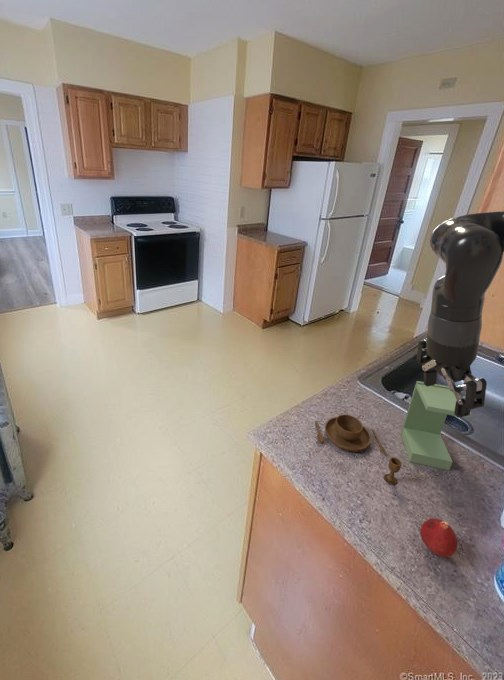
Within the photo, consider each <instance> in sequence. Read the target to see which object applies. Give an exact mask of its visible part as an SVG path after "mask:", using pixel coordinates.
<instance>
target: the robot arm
mask: <svg viewBox="0 0 504 680" xmlns="http://www.w3.org/2000/svg"><path fill="white" fill-rule="evenodd" d="M429 245H430V248H431V251H432V252H433V253H434V255H436V256H437V257H438V259H440V260H441V261H442V262H443V263H444V264H445V273H444V275H443V276H441V277H439V278H438V279H437V280H436V281H435V282H434V285H433V288H432V295H431V297H432V298H431V308H430V312H429V316H428V320H427V331H426V332H427V333H426V338H424V339H421V340H419V341H418V343H417V344H418V345H417V350H416V351H417V353H416V362H417V364H421V365H422V366H421V369H422V371H423V382H424V384H425V385H426V386H432V385H435V384H437V378H438V375H440V376H441V377H442V378H443V379H444V380H445V381H446V383H447V386H449V389H450V391H452V392H454V394H455V397H456V400H457V401H456V405H455V411H454V414H455V415H456V416H455V415H454V416H455V417H457V418H465V417H464V416H468V415H470V412H471V411H472V410H473V409H478V408H482V407H484V406H485V402H486V401H485V399H486V392H487V384H488V381H487V380H486V379H485V378H484V377H480V378H477V377H475V376H474V374H472V369H471V366H472V364H473V363H474V361H475V360H476V359H477V355H478V351H479V345H480V339H481V334H482V326H483V311H484V305H485V299H486V292H487V291H488V289H489V288H490V286H491V284H492V283H493V281H494V279H495V277H496V275H497V273H498V271H499V269H500V267H501V265H502V262H503V259H504V210H499V211H489V212H478V213H477V212H476V213H470V214H469V213H468V214H464V215H458V216H455V217H451V218H449V219H448V220H445V221H443V222H442V223H441V224H439V225H438V226H437V227H435V229H434V230H433V231H432V233H431V235H430V239H429ZM462 381H463V383H462V384H459V385H456V383H459V382H462ZM463 391H464V394H465V396H463V394H462V392H463Z"/></svg>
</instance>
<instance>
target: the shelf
mask: <svg viewBox="0 0 504 680" xmlns="http://www.w3.org/2000/svg"><path fill="white" fill-rule="evenodd" d="M456 401H457V400H456V397H455V394H454V392H452V391H450V389H449V386H448V385H444V384H437V383H436V384H435V385H432V386H426V385H425V384H424V381H419V380H416V382H415V384H414V389H413V392H412V394H411V398H410V401H409V405H408V409H407V411H406V415H405V418H404V422H403V424H402V428H401V432H400V436H401V439H402V443H403V446H404V448H405V451H406V455H407V457H408V461H409V462H410V463H414V464H418V465H423V466H428V467H432V468H436V469H440V470H441V469H442V470H445V471H450V470H451V467H452V465H453V463H454V462H453V459H452V457H451V455H450V453H449V451H448V448H447V446H446V444H445V442H444V440H443V438H442V436H441V433H442V430H443V428H444V426H445V423H446V419H447V417H448V415H450V416H455V417H457V416H456V415H455V414H454V411H455V405H456ZM472 415H473V414H472V412H471V411H470V415H468V416H464V417H463V418H464V419H465V418H466V419H471V417H472Z"/></svg>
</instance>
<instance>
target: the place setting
mask: <svg viewBox="0 0 504 680" xmlns="http://www.w3.org/2000/svg"><path fill="white" fill-rule="evenodd" d="M314 424H315V427H316V431H317V434H316V439H317V440H318V442H320V443H323V442H324V441H325V437H324V436H323V434H322V433H321V432H320V427H319V424H318V421H316V420H315V421H314ZM324 432H325V435H326V437H327V438H328V440H329V441H330V442H331V443H332V444H333V445H335V446H336V447H338V448H340V449H342V450H344V451H347V452H362V451H364V450H366V449H367V448H368V447H369V446H370V444H371V439H372V438H371V434H370V432H369V431H368V429H367V428H366V427H365V426H364V425H363V423H362V422H361V420H360V419H358V418H357V417H355V416H353V415H350V414H340V415H338V416H333V417H331V418H329V419H328V420H327V421H326V422H325V424H324ZM372 433H373V435H374V437H375V439H376V441H377V443H378V445H379V451H380V453H381V454H382V455H383V456H385V455H386V456H389V454H388V452H387V451H386V449H385V448H384V447H383V446H382V444H381V442H380V439H379V437H378V435H377V433H376V432H375V430H374V428H372ZM402 464H403V463H402V461H401V460H400V459H399V458H397V457H390V459H389V461H388V470H389V471H390V472H389V473H385V474H383V479H384V481H385V482H386V483H387V484H389V485H392V486H394V485H397V483H398V480H397V478H396V477H395V474H396V473H399V472H400V470H401V467H402Z"/></svg>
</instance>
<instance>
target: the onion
mask: <svg viewBox="0 0 504 680" xmlns="http://www.w3.org/2000/svg"><path fill="white" fill-rule="evenodd" d="M419 531H420V537H421V540H422V542H423V543H424V544H425V546H426V548H427V549H428V550H429V551H430V552H432V553H433V554H435V555H436V556H439V557H442V558H446V557H447V558H449V557H452V556H453V555H454V554H455V553H456V552H457V549H458V538H457V534H456V533H455V531H454V529H453V528H452V526H451V525H450V524H449V523H448V521H444V520H442V519H440V518H435V517H433V518H428V519H426V520H425V521H424V522H423V523H422V524H421V526H420V530H419Z"/></svg>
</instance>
